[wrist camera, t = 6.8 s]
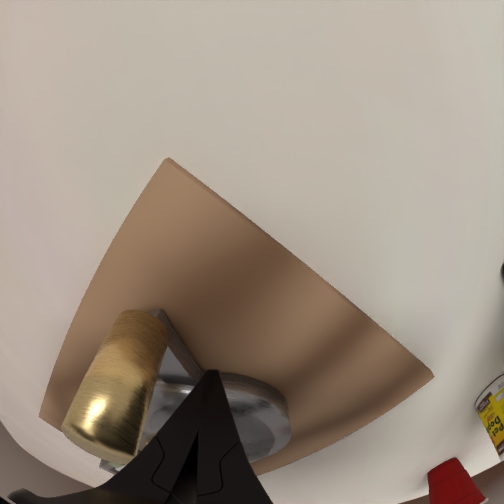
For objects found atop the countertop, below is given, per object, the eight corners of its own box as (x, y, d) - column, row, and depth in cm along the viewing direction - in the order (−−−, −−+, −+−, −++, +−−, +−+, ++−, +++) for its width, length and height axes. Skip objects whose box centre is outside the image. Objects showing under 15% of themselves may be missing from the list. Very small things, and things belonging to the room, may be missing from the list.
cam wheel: (138, 282, 11) (68, 414, 5) (331, 396, 15) (354, 498, 9) (72, 390, 15) (38, 465, 9) (213, 458, 18) (208, 529, 12)
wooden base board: (431, 370, 15) (447, 401, 13) (202, 487, 24) (201, 507, 22) (169, 157, 10) (141, 169, 7) (40, 412, 19) (30, 433, 16)
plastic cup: (411, 485, 32) (424, 533, 21) (416, 472, 27) (433, 531, 17) (462, 460, 30) (478, 505, 19) (475, 441, 26) (497, 495, 15)
